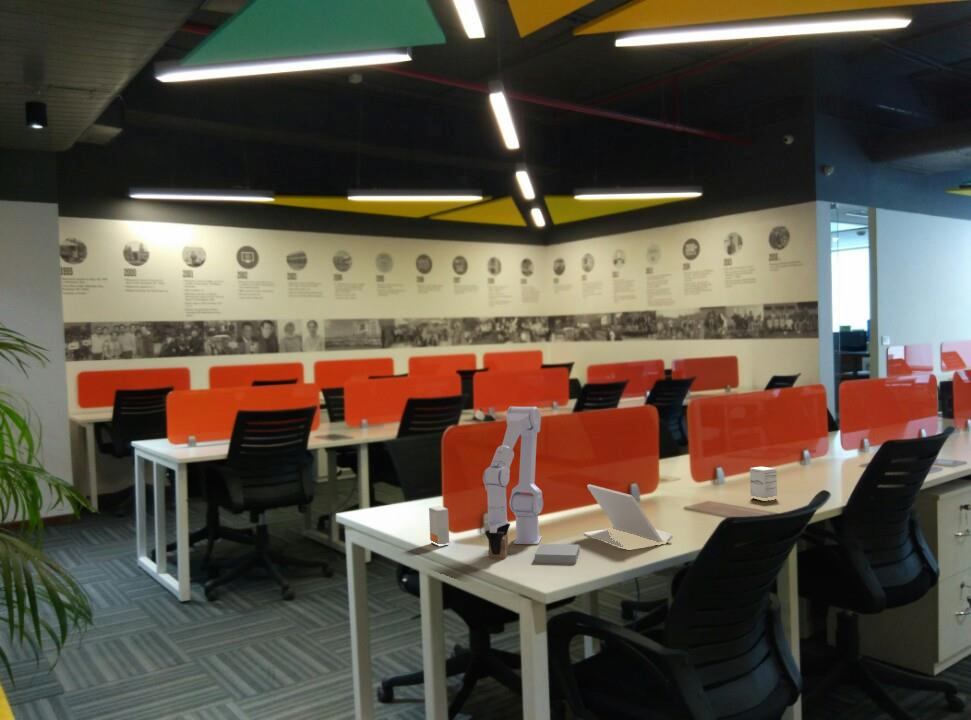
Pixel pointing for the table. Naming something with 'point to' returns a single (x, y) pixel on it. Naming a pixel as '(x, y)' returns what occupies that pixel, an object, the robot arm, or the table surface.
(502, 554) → the walnut block
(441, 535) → the skincare box
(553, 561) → the slate block
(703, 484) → the table surface
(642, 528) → the tablet stand
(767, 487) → the supplement box
